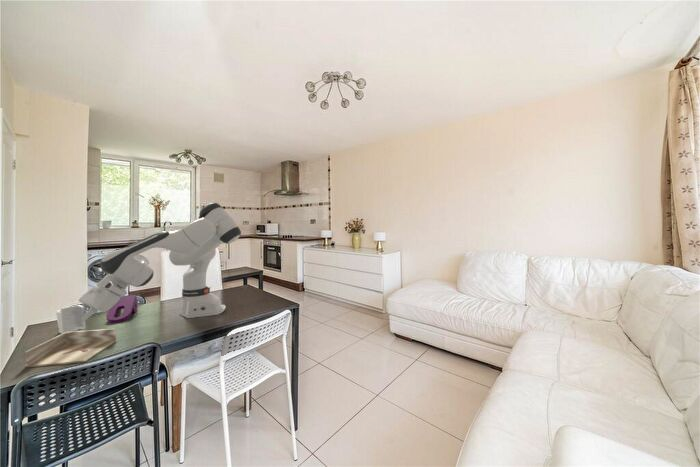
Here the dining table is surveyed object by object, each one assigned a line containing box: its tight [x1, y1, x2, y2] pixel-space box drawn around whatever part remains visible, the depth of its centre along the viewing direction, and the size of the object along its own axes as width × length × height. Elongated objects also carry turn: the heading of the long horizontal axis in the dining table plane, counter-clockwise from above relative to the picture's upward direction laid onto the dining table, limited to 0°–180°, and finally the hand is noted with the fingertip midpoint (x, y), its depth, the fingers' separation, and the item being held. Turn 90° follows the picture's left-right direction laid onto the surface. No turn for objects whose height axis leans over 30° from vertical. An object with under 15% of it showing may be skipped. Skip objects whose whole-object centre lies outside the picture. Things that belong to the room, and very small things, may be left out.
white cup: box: [55, 309, 81, 334], centre depth 117 cm, size 8×8×10 cm
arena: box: [23, 328, 117, 368], centre depth 98 cm, size 18×16×6 cm
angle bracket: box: [60, 304, 87, 332], centre depth 97 cm, size 5×5×9 cm
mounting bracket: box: [105, 294, 138, 324], centre depth 134 cm, size 10×8×18 cm
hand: (79, 317), depth 98 cm, fingers closed on angle bracket, 5 cm apart
